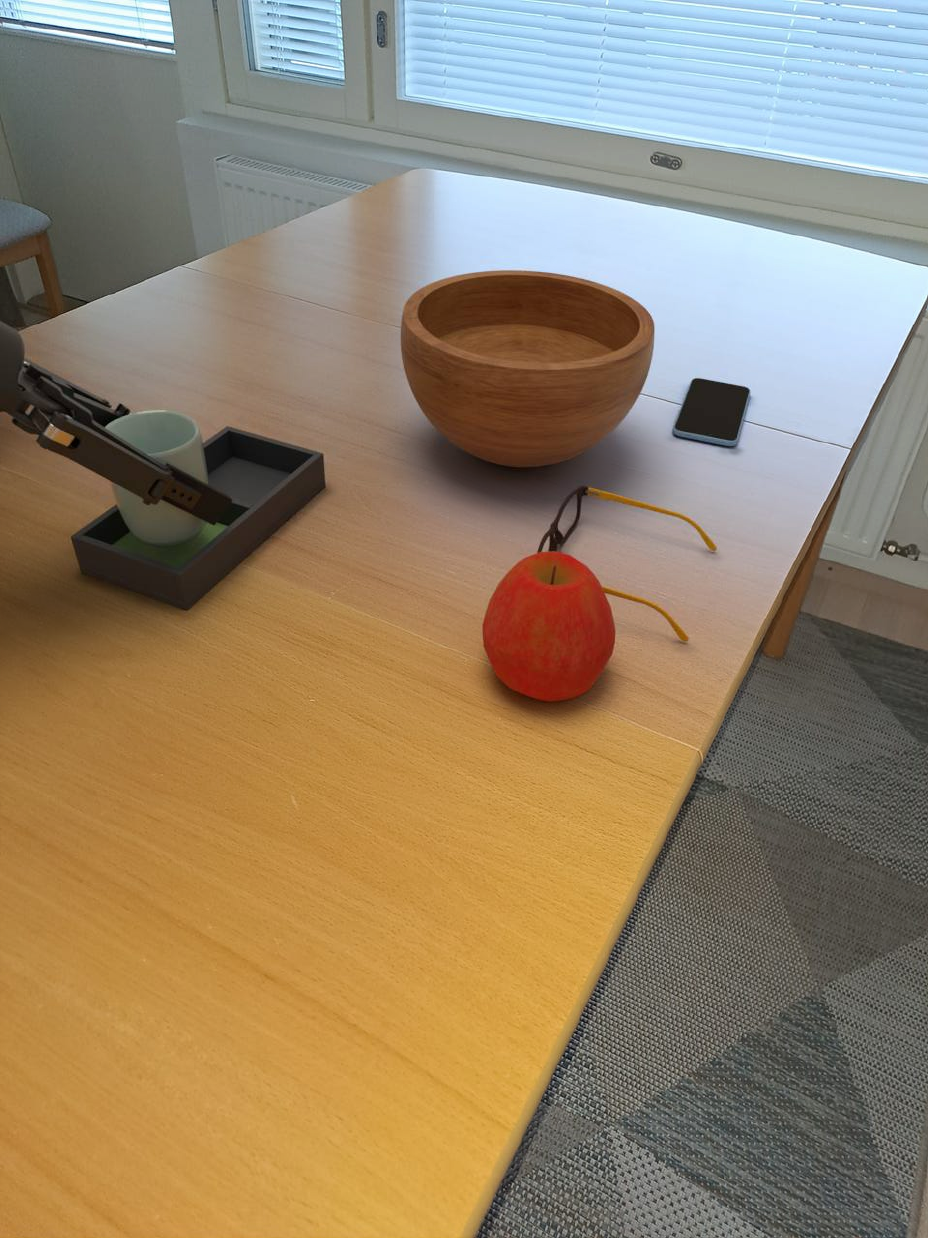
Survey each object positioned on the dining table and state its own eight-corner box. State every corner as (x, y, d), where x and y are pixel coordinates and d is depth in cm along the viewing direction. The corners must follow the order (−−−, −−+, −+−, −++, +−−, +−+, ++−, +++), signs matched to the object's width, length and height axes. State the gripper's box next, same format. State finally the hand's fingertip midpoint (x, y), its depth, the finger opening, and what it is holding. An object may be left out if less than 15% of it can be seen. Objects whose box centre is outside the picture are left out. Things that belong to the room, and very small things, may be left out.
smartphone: (752, 386, 111) (737, 442, 100) (750, 393, 112) (736, 449, 101) (691, 375, 113) (671, 428, 102) (690, 381, 113) (669, 435, 102)
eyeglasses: (568, 515, 90) (573, 480, 87) (715, 551, 86) (725, 516, 83) (522, 599, 79) (526, 562, 77) (687, 644, 76) (697, 607, 73)
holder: (80, 572, 80) (70, 536, 77) (231, 458, 95) (227, 425, 93) (187, 610, 76) (179, 574, 74) (325, 486, 92) (323, 453, 89)
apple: (474, 628, 76) (480, 524, 69) (595, 626, 77) (613, 523, 70) (484, 717, 68) (493, 610, 62) (619, 714, 69) (642, 608, 62)
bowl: (355, 438, 100) (349, 301, 90) (522, 378, 112) (533, 253, 103) (508, 545, 85) (521, 397, 76) (680, 463, 98) (710, 327, 88)
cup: (190, 499, 85) (172, 400, 78) (232, 538, 80) (217, 436, 74) (109, 528, 81) (83, 426, 74) (148, 570, 76) (125, 466, 70)
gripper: (13, 361, 55) (279, 508, 73) (-63, 258, 68) (180, 405, 86) (-53, 461, 56) (226, 583, 74) (-116, 341, 69) (135, 470, 86)
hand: (201, 487), depth 80 cm, fingers closed on cup, 8 cm apart
